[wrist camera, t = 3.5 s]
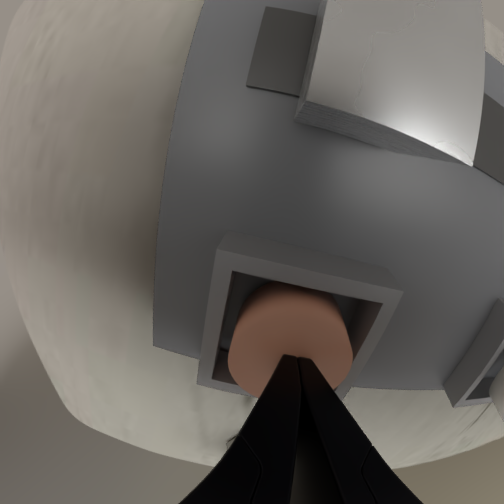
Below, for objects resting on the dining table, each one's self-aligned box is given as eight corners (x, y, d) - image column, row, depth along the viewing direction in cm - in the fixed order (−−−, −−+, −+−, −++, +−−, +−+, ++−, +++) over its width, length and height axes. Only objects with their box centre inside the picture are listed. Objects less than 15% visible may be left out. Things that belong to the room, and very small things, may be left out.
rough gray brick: (416, 27, 5) (478, -16, 2) (396, 153, 7) (471, 166, 3) (321, -7, 5) (341, -79, 2) (293, 121, 7) (306, 100, 3)
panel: (575, 167, 7) (611, 180, 3) (497, 366, 13) (518, 399, 9) (228, -13, 7) (208, -62, 4) (168, 319, 13) (139, 370, 9)
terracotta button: (357, 292, 9) (372, 328, 7) (321, 369, 10) (325, 408, 8) (249, 267, 9) (240, 302, 7) (229, 352, 10) (219, 391, 8)
